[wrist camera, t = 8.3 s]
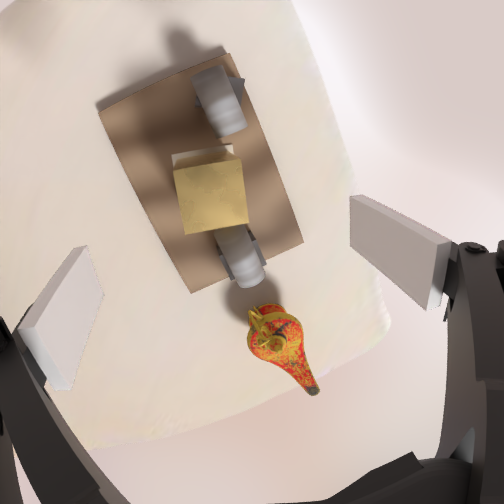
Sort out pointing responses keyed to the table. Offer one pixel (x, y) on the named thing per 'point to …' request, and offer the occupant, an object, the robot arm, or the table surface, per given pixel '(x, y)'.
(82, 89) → the table surface
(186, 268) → the shaft bench
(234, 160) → the block
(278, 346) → the magic lamp
